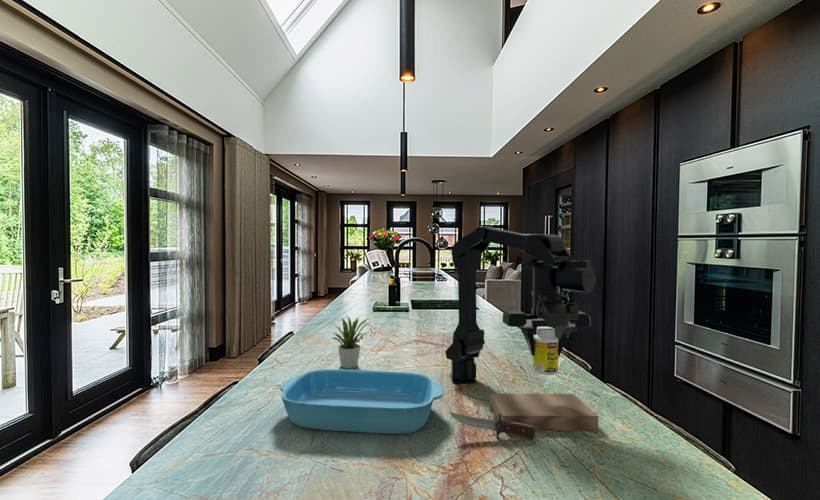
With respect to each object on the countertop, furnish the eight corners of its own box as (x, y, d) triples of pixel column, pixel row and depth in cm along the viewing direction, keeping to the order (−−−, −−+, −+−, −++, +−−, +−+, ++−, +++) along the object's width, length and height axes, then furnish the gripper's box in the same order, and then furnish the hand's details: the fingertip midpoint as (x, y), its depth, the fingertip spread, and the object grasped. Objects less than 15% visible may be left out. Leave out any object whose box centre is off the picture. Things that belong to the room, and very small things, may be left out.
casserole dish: (442, 398, 96) (443, 370, 96) (444, 444, 74) (444, 407, 74) (300, 393, 98) (300, 366, 98) (260, 436, 76) (260, 401, 76)
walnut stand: (502, 429, 79) (502, 415, 79) (489, 405, 91) (490, 393, 91) (598, 430, 79) (598, 416, 79) (573, 406, 91) (573, 393, 91)
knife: (448, 437, 76) (448, 412, 76) (448, 434, 77) (448, 409, 77) (535, 440, 75) (535, 415, 75) (533, 436, 76) (533, 412, 76)
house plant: (384, 364, 123) (384, 313, 123) (356, 376, 111) (356, 320, 111) (350, 357, 131) (351, 309, 130) (321, 367, 119) (321, 315, 119)
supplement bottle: (548, 377, 84) (548, 331, 84) (527, 370, 89) (527, 327, 89) (563, 373, 87) (563, 328, 87) (542, 366, 92) (543, 324, 92)
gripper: (516, 292, 80) (515, 366, 80) (604, 292, 80) (603, 366, 80) (502, 286, 91) (501, 351, 91) (579, 287, 91) (578, 352, 91)
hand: (545, 355), depth 88 cm, fingers closed on supplement bottle, 5 cm apart
